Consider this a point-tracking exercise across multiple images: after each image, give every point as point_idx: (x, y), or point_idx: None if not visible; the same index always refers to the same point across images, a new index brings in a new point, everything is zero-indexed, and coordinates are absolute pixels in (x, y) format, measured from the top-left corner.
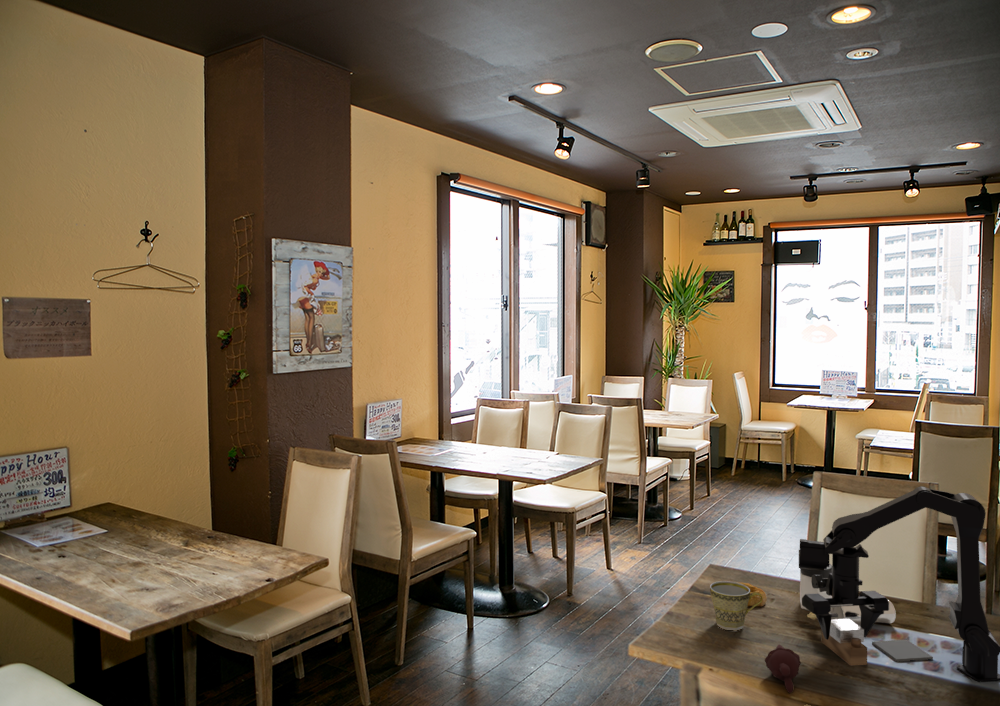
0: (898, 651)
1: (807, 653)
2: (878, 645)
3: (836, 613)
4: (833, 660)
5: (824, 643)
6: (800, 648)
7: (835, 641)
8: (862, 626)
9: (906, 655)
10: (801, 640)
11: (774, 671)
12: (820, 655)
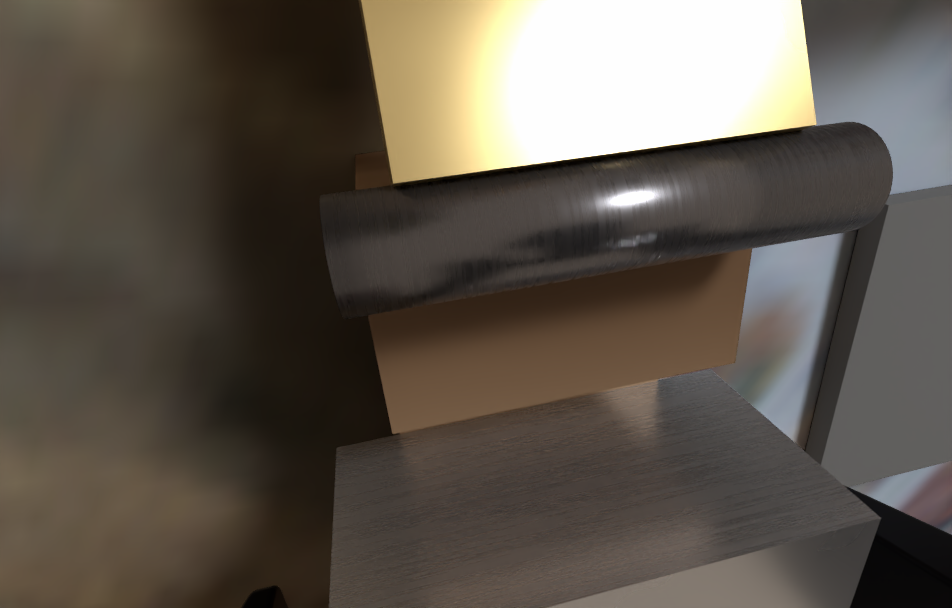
0: (928, 382)
1: (89, 444)
2: (874, 289)
3: (864, 201)
4: (329, 531)
5: None
6: (12, 339)
7: None
8: (884, 583)
9: (923, 435)
10: (61, 96)
11: None
12: (231, 466)
